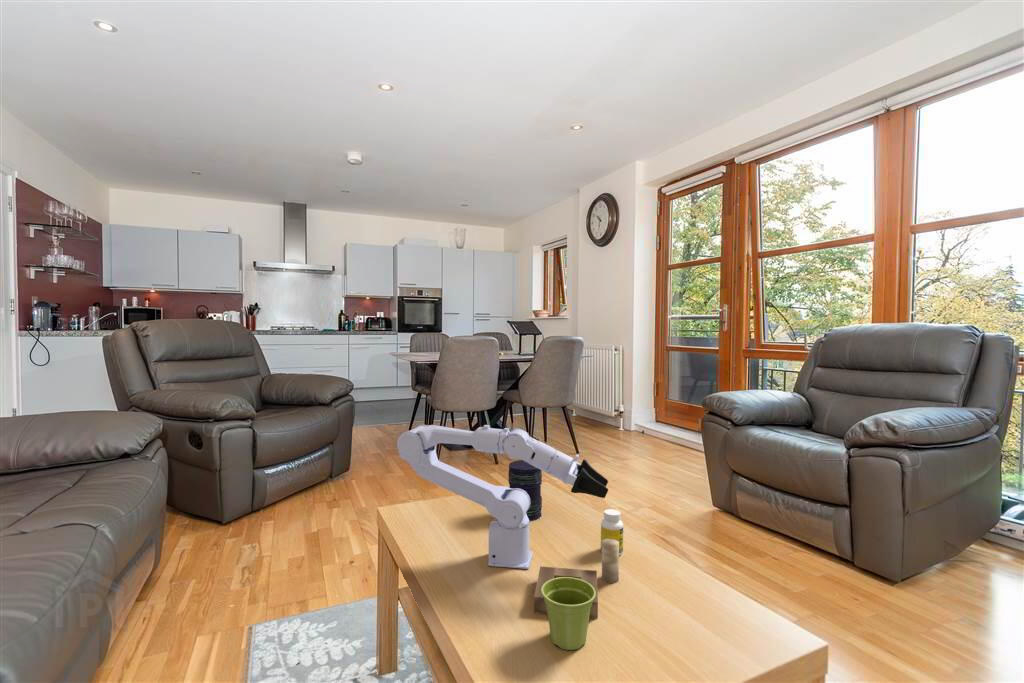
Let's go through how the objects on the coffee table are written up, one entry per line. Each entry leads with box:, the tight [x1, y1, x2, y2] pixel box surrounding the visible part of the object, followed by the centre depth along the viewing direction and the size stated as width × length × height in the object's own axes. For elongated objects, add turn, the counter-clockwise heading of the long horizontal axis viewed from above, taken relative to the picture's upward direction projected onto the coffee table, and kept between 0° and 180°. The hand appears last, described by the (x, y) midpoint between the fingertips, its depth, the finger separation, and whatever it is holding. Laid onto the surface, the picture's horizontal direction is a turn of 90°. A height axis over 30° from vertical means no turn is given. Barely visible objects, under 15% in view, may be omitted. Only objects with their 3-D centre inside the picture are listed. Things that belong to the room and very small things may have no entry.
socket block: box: [533, 565, 599, 619], centre depth 96 cm, size 12×12×3 cm
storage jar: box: [507, 459, 543, 522], centre depth 139 cm, size 10×10×15 cm
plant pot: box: [541, 577, 596, 651], centre depth 83 cm, size 9×9×9 cm
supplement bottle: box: [600, 508, 624, 556], centre depth 116 cm, size 5×5×10 cm
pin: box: [601, 539, 620, 584], centre depth 103 cm, size 4×4×8 cm
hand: (606, 489), depth 106 cm, fingers open, 7 cm apart
